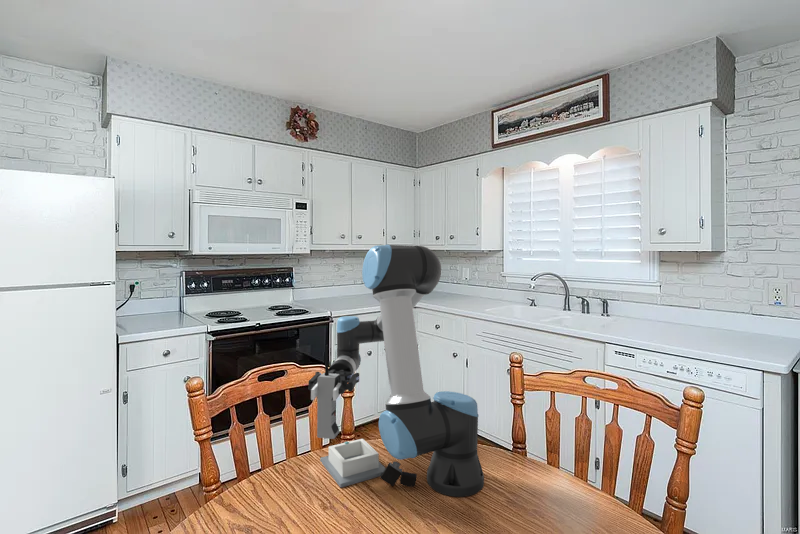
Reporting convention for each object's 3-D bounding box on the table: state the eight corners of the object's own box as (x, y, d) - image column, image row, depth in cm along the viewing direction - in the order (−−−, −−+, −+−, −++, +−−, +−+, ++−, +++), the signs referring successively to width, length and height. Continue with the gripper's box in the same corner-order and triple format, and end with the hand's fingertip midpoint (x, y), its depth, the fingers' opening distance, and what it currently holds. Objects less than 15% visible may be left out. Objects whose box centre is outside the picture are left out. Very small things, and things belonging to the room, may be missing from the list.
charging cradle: (388, 473, 113) (388, 454, 113) (340, 487, 106) (340, 467, 106) (363, 450, 127) (363, 433, 127) (320, 461, 120) (320, 443, 120)
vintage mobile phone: (334, 439, 110) (335, 346, 109) (317, 437, 111) (317, 346, 110) (339, 433, 113) (339, 344, 113) (322, 432, 114) (322, 343, 114)
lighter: (408, 491, 109) (419, 474, 109) (408, 496, 107) (420, 478, 107) (380, 473, 109) (392, 456, 109) (380, 478, 107) (392, 460, 107)
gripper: (370, 383, 129) (357, 410, 106) (313, 381, 130) (289, 408, 107) (370, 359, 129) (357, 381, 106) (313, 358, 130) (289, 380, 107)
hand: (323, 395), depth 106 cm, fingers closed on vintage mobile phone, 5 cm apart
